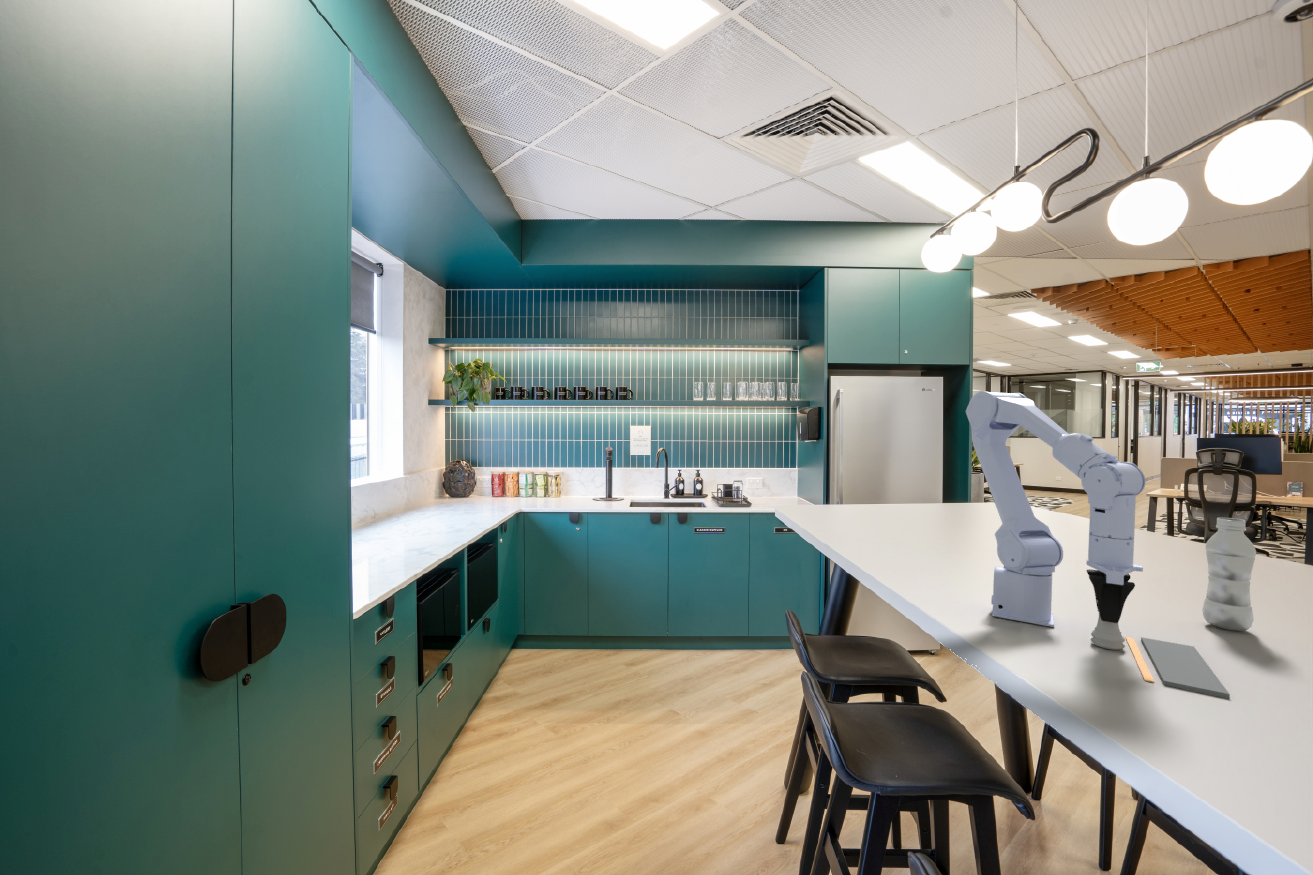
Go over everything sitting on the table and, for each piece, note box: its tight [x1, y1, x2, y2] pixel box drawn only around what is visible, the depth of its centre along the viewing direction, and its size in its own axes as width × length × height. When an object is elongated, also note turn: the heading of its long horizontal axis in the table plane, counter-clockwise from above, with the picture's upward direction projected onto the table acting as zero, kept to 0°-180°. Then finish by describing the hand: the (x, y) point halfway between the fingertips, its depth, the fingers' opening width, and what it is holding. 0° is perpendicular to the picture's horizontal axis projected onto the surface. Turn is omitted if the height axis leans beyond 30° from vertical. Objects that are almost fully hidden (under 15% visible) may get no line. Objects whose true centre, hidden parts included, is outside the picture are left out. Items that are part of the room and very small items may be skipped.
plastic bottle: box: [1202, 517, 1257, 632], centre depth 100 cm, size 6×7×20 cm
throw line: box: [1125, 636, 1155, 683], centre depth 86 cm, size 1×20×1 cm, turn 146°
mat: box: [1140, 636, 1231, 699], centre depth 83 cm, size 6×20×1 cm, turn 145°
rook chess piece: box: [1090, 599, 1126, 651], centre depth 90 cm, size 4×4×8 cm
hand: (1108, 618), depth 90 cm, fingers closed on rook chess piece, 3 cm apart
